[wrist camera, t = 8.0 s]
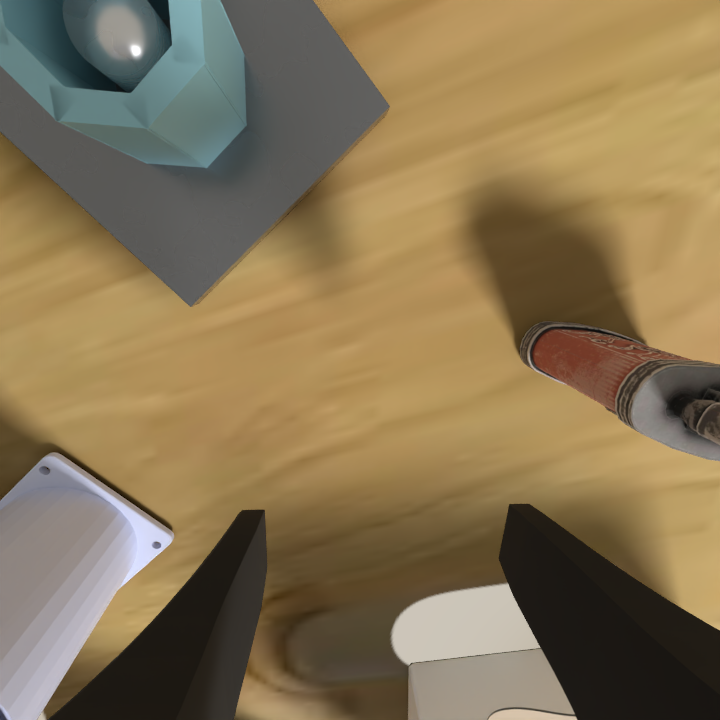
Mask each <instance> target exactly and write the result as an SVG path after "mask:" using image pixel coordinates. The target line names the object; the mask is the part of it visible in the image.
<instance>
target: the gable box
mask: <svg viewBox="0 0 720 720" xmlns="http://www.w3.org/2000/svg"><path fill="white" fill-rule="evenodd" d="M408 720H577V718H576V716H575V713H574V711H573V709H572V707H571V705H570V703H569V701H568V699H567V697H566V695H565V693H564V691H563V689H562V687H561V685H560V683H559V681H558V679H557V677H556V675H555V673H554V672H553V670H552V668H551V666H550V664H549V662H548V660H547V658H546V657H545V655H544V653H543V651H542V649H541V648H537V649H528V650H519V651H511V652H502V653H493V654H485V655H476V656H467V657H459V658H451V659H442V660H434V661H425V662H416V663H411V664H410V666H409V678H408Z"/></svg>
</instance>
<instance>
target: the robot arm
mask: <svg viewBox="0 0 720 720" xmlns="http://www.w3.org/2000/svg"><path fill="white" fill-rule="evenodd" d="M45 466H46V467H48V468H49V469H50V470H48V469H47V468H46V467H45ZM173 538H174V534H173V532H172V531H171V530H170V529H168V528H167V527H165V526H164V525H162V524H161V523H160V522H158V521H157V520H155V519H154V518H152V517H151V516H149V515H148V514H147V513H145V512H144V511H142V510H141V509H139V508H138V507H136V506H135V505H134V504H132V503H131V502H129V501H128V500H126V499H125V498H123V497H122V496H121V495H119V494H118V493H116V492H115V491H113V490H112V489H110V488H109V487H107V486H106V485H105V484H103V483H102V482H100V481H99V480H97V479H96V478H94V477H93V476H92V475H90V474H89V473H87V472H86V471H84V470H83V469H81V468H80V467H79V466H77V465H76V464H74V463H73V462H71V461H70V460H68V459H67V458H66V457H64V456H63V455H61V454H59V453H55V452H53V453H49V454H48V455H46V456H45V457H43V458H42V459H41V460H40V461H39V462H38V463H37V464H36V465H35V466H34V467H33V468H32V469H31V470H30V471H29V472H28V473H27V474H26V475H25V476H24V477H23V478H22V479H21V480H20V481H19V482H18V483H17V484H16V485H15V486H14V487H13V488H12V489H11V490H10V491H9V492H8V493H7V494H6V495H5V496H4V497H3V498H2V499H1V500H0V720H37V719H38V717H39V716H40V714H41V713H42V711H43V709H44V708H45V706H46V705H47V703H48V701H49V700H50V698H51V697H52V695H53V693H54V692H55V690H56V688H57V687H58V685H59V684H60V682H61V680H62V679H63V677H64V676H65V674H66V672H67V671H68V669H69V668H70V666H71V664H72V663H73V661H74V659H75V658H76V656H77V655H78V653H79V651H80V650H81V648H82V647H83V645H84V643H85V642H86V640H87V639H88V637H89V635H90V634H91V632H92V630H93V629H94V627H95V626H96V624H97V622H98V621H99V619H100V618H101V616H102V614H103V613H104V611H105V610H106V608H107V606H108V605H109V603H110V601H111V600H112V598H113V597H114V595H115V593H116V592H117V590H118V589H119V588H121V587H122V586H123V585H124V584H125V583H126V582H127V581H129V580H130V579H131V578H132V577H133V576H134V575H135V574H137V573H138V572H139V571H140V570H141V569H142V568H143V567H145V566H146V565H147V564H148V563H149V562H150V561H151V560H152V559H154V558H155V557H156V556H157V555H158V554H159V553H160V552H162V551H163V550H164V549H165V548H166V547H167V546H168V545H170V543H171V542H172V540H173ZM157 542H160V543H157ZM499 561H500V563H501V566H502V569H503V571H504V574H505V576H506V579H507V581H508V584H509V586H510V589H511V591H512V593H513V596H514V598H515V600H516V602H517V604H518V606H519V608H520V609H521V611H522V613H523V615H524V617H525V619H526V621H527V623H528V624H529V627H530V628H531V630H532V632H533V634H534V636H535V638H536V639H537V642H538V643H539V645H540V647H541V649H542V651H543V653H544V655H545V657H546V658H547V660H548V662H549V664H550V666H551V668H552V670H553V672H554V673H555V675H556V677H557V679H558V681H559V683H560V685H561V687H562V689H563V691H564V693H565V695H566V697H567V699H568V701H569V703H570V705H571V707H572V709H573V711H574V713H575V716H576V718H577V720H720V630H718V629H716V628H714V627H712V626H711V625H709V624H707V623H705V622H704V621H702V620H700V619H699V618H697V617H695V616H694V615H692V614H690V613H689V612H687V611H685V610H684V609H682V608H680V607H678V606H677V605H675V604H673V603H672V602H670V601H669V600H667V599H665V598H664V597H662V596H661V595H659V594H657V593H656V592H654V591H653V590H651V589H650V588H648V587H647V586H645V585H644V584H642V583H641V582H639V581H637V580H636V579H634V578H633V577H631V576H630V575H628V574H627V573H625V572H624V571H622V570H621V569H620V568H618V567H617V566H615V565H614V564H612V563H611V562H609V561H608V560H607V559H605V558H604V557H602V556H601V555H600V554H598V553H597V552H595V551H594V550H593V549H591V548H590V547H588V546H587V545H586V544H584V543H583V542H581V541H580V540H579V539H577V538H576V537H575V536H573V535H572V534H571V533H569V532H568V531H566V530H565V529H564V528H562V527H561V526H560V525H558V524H557V523H556V522H554V521H553V520H551V519H550V518H549V517H547V516H546V515H544V514H543V513H542V512H540V511H539V510H537V509H536V508H534V507H533V506H531V505H530V504H509V509H508V514H507V519H506V524H505V529H504V534H503V539H502V544H501V549H500V554H499ZM266 572H267V550H266V528H265V510H242V511H241V512H240V513H239V514H238V515H237V517H236V518H235V520H234V521H233V523H232V524H231V526H230V527H229V528H228V530H227V531H226V533H225V534H224V535H223V537H222V538H221V539H220V541H219V542H218V543H217V545H216V546H215V547H214V549H213V550H212V551H211V553H210V554H209V555H208V556H207V558H206V559H205V560H204V562H203V563H202V564H201V565H200V567H199V568H198V569H197V570H196V572H195V573H194V574H193V575H192V576H191V578H190V579H189V580H188V581H187V582H186V584H185V585H184V586H183V587H182V588H181V589H180V590H179V592H178V593H177V594H176V595H175V596H174V597H173V599H172V600H171V601H170V602H169V603H168V604H167V605H166V607H165V608H164V609H163V610H162V611H161V612H160V613H159V614H158V615H157V616H156V617H155V619H154V620H153V621H152V622H151V623H150V624H149V625H148V626H147V627H146V628H145V629H144V630H143V631H142V632H141V633H140V634H139V635H138V636H137V637H136V638H135V639H134V640H133V641H132V642H131V643H130V644H129V645H128V646H127V647H126V648H125V649H124V650H123V651H122V652H121V653H120V654H119V655H118V656H117V657H116V658H115V659H114V660H113V661H112V662H111V663H110V664H109V665H108V666H107V667H106V668H105V669H104V670H102V671H101V672H100V673H99V674H98V675H97V676H96V677H95V678H94V679H93V680H92V681H91V682H90V683H89V684H88V685H87V686H85V687H84V688H83V689H82V690H81V691H80V692H79V693H78V694H77V695H76V696H74V697H73V698H72V699H71V700H70V701H69V702H68V703H67V704H65V705H64V706H63V707H62V708H61V709H60V710H59V711H57V712H56V713H55V714H54V715H53V716H51V717H50V718H49V719H48V720H234V716H235V712H236V707H237V703H238V699H239V695H240V691H241V687H242V683H243V679H244V675H245V671H246V667H247V663H248V659H249V655H250V651H251V647H252V643H253V639H254V635H255V631H256V627H257V623H258V619H259V615H260V610H261V606H262V599H263V593H264V586H265V579H266Z"/></svg>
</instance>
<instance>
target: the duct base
mask: <svg viewBox="0 0 720 720" xmlns="http://www.w3.org/2000/svg"><path fill="white" fill-rule="evenodd" d="M221 3H222V5H223V7H224V9H225V12H226V14H227V16H228V19H229V21H230V23H231V25H232V28H233V30H234V32H235V35H236V37H237V39H238V41H239V44H240V46H241V48H242V50H243V53H244V55H245V57H244V67H245V95H246V123H247V126H245V128H244V129H243V130H242V131H241V132H240V133H239V134H238V135H237V136H236V137H235V138H234V139H233V140H232V142H231V143H230V144H229V145H228V146H227V147H226V148H225V149H224V150H223V151H222V152H221V153H220V154H219V155H218V157H217V158H216V159H215V160H214V161H213V162H212V163H211V164H210V165H209V166H208V168H203V167H190V166H176V165H163V164H150V163H149V164H147V163H145V162H142V161H140V160H138V159H136V158H134V157H132V156H130V155H127V154H125V153H123V152H121V151H119V150H117V149H115V148H112V147H110V146H108V145H106V144H104V143H102V142H100V141H97V140H95V139H93V138H91V137H89V136H87V135H85V134H82V133H80V132H78V131H76V130H74V129H72V128H70V127H67V126H65V125H63V124H61V123H59V122H57V121H55V119H54V118H53V117H52V116H51V115H50V114H49V113H48V112H47V111H46V110H45V109H44V108H43V107H42V106H41V105H40V104H39V103H38V102H37V101H36V100H35V99H34V98H33V97H32V96H31V95H30V94H29V93H28V92H27V91H26V90H25V89H24V88H23V87H22V86H21V85H20V84H19V83H18V82H17V81H16V80H14V79H13V78H12V77H11V76H10V75H9V74H8V73H7V72H6V71H5V70H4V69H3V68H2V67H1V66H0V132H1V133H2V134H3V135H4V136H5V137H6V138H8V139H9V140H10V141H11V142H12V143H13V144H14V145H15V146H16V147H17V148H18V149H20V150H21V151H22V152H23V153H24V154H25V155H26V156H27V157H28V158H29V159H30V160H31V161H33V162H34V163H35V164H36V165H37V166H38V167H39V168H40V169H41V170H42V171H43V172H45V173H46V174H47V175H48V176H49V177H50V178H51V179H52V180H53V181H54V182H55V183H56V184H58V185H59V186H60V187H61V188H62V189H63V190H64V191H65V192H66V193H67V194H68V195H70V196H71V197H72V198H73V199H74V200H75V201H76V202H77V203H78V204H79V205H80V206H81V207H83V208H84V209H85V210H86V211H87V212H88V213H89V214H90V215H91V216H92V217H93V218H95V219H96V220H97V221H98V222H99V223H100V224H101V225H102V226H103V227H104V228H105V229H106V230H108V231H109V232H110V233H111V234H112V235H113V236H114V237H115V238H116V239H117V240H118V241H120V242H121V243H122V244H123V245H124V246H125V247H126V248H127V249H128V250H129V251H130V252H131V253H133V254H134V255H135V256H136V257H137V258H138V259H139V260H140V261H141V262H142V263H143V264H145V265H146V266H147V267H148V268H149V269H150V270H151V271H152V272H153V273H154V274H155V275H156V276H158V277H159V278H160V279H161V280H162V281H163V282H164V283H165V284H166V285H167V286H168V287H170V288H171V289H172V290H173V291H174V292H175V293H176V294H177V295H178V296H179V297H180V298H181V299H183V300H184V301H185V302H186V303H187V304H188V305H189V306H190V307H192V306H194V305H197V304H199V303H200V302H201V301H202V300H203V299H204V298H205V297H206V296H207V295H208V294H209V293H210V292H211V291H212V290H213V289H214V288H215V287H216V286H217V285H218V284H219V283H220V282H221V281H222V280H223V279H224V278H225V277H226V276H227V275H228V274H229V273H230V272H231V271H232V270H233V269H234V268H235V266H236V265H237V264H238V263H239V262H240V261H241V260H242V259H243V258H244V257H245V256H246V255H247V254H248V253H249V252H250V251H251V250H252V249H253V248H254V247H255V246H256V245H257V244H258V243H259V242H260V241H261V240H262V239H263V238H264V237H265V236H266V235H267V234H268V233H269V232H270V231H271V230H272V229H273V228H274V227H275V226H276V225H277V224H278V223H279V222H280V221H281V220H282V219H283V218H284V217H285V216H286V215H287V214H288V213H289V212H290V211H291V210H292V209H293V208H294V207H295V206H296V205H297V204H298V203H299V202H300V201H301V200H302V199H303V198H304V197H305V196H306V195H307V194H308V193H309V192H310V191H311V190H312V189H313V188H314V187H315V186H316V185H317V184H318V183H319V182H320V181H321V180H322V179H323V178H324V177H325V176H326V175H327V174H328V173H329V172H330V171H331V170H332V169H333V168H334V167H335V166H336V165H337V164H338V163H339V162H340V161H341V160H342V159H343V158H344V157H345V156H346V155H347V154H348V153H349V152H350V151H351V150H352V149H353V148H354V147H355V146H356V145H357V144H358V143H359V142H360V141H361V140H362V139H363V138H364V137H365V136H366V135H367V134H368V133H369V132H370V131H371V130H372V129H373V128H374V127H375V126H376V125H377V124H378V123H379V122H380V121H381V120H382V119H383V118H384V117H385V116H386V114H387V112H388V110H389V107H390V106H389V105H388V103H387V102H386V100H385V99H384V98H383V96H382V95H381V93H380V92H379V91H378V89H377V88H376V87H375V85H374V84H373V82H372V81H371V80H370V78H369V77H368V76H367V74H366V73H365V71H364V70H363V69H362V67H361V66H360V65H359V63H358V62H357V60H356V59H355V58H354V56H353V55H352V53H351V52H350V51H349V49H348V48H347V47H346V45H345V44H344V42H343V41H342V40H341V38H340V37H339V36H338V34H337V33H336V31H335V30H334V29H333V27H332V26H331V25H330V23H329V22H328V20H327V19H326V18H325V16H324V15H323V13H322V12H321V11H320V9H319V8H318V7H317V5H316V4H315V2H314V1H313V0H221ZM63 19H64V23H65V27H66V30H67V33H68V35H69V38H70V40H71V41H72V43H73V45H74V46H75V48H76V49H77V51H78V52H79V53H80V54H81V56H82V57H83V58H84V59H85V60H87V61H88V62H89V63H90V64H91V65H93V66H94V67H95V68H97V69H98V70H99V71H100V72H102V73H103V74H104V75H106V76H107V77H108V78H109V79H111V80H112V81H113V82H115V83H116V91H117V92H123V93H131V92H132V91H133V90H134V89H135V88H136V87H137V85H138V84H139V83H140V82H141V81H142V80H143V78H144V77H145V76H146V75H147V74H148V73H149V71H150V70H151V69H152V68H153V67H154V66H155V64H156V63H157V62H158V61H159V60H160V59H161V57H162V56H163V55H164V54H165V53H166V51H167V50H168V49H169V48H170V47H171V46H172V37H171V25H170V20H166V19H161V18H160V17H159V15H158V14H157V13H156V11H155V10H154V9H153V7H152V6H151V4H150V3H149V2H148V0H63Z"/></svg>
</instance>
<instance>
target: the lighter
mask: <svg viewBox="0 0 720 720" xmlns="http://www.w3.org/2000/svg"><path fill="white" fill-rule="evenodd" d="M520 357H521V359H522V361H523V363H525V364H526V365H527V366H528V367H530V368H532V369H533V370H535V371H537V372H539V373H541V374H543V375H545V376H547V377H549V378H551V379H553V380H555V381H557V382H559V383H562V384H565V385H568V386H571V387H572V388H574V389H576V390H578V391H579V392H581V393H583V394H585V395H586V396H588V397H590V398H592V399H593V400H595V401H597V402H599V403H600V404H602V405H604V406H605V408H606V409H607V410H609V411H610V412H612V413H614V414H615V415H617V416H618V418H619V419H620V420H621V421H622V422H623V423H624V424H626V425H628V426H629V427H631V428H633V429H634V430H636V431H638V432H639V433H641V434H643V435H645V436H647V437H649V438H652V439H654V440H656V441H658V442H660V443H662V444H664V445H666V446H668V447H670V448H673V449H676V450H679V451H682V452H685V453H689V454H692V455H695V456H698V457H702V458H705V459H708V460H715V461H720V365H719V364H714V363H708V362H703V361H696V360H690V359H687V358H684V357H681V356H677V355H674V354H671V353H668V352H664V351H661V350H658V349H655V348H651V347H649V346H647V345H645V344H643V343H641V342H639V341H638V340H635V339H632V338H629V337H627V336H624V335H621V334H618V333H616V332H613V331H609V330H606V329H603V328H599V327H593V326H588V325H583V324H577V323H568V322H550V321H546V322H540V323H538V324H536V325H534V326H532V327H531V328H530V329H529V330H528V331H527V332H526V334H525V336H524V337H523V339H522V342H521V346H520Z"/></svg>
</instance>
